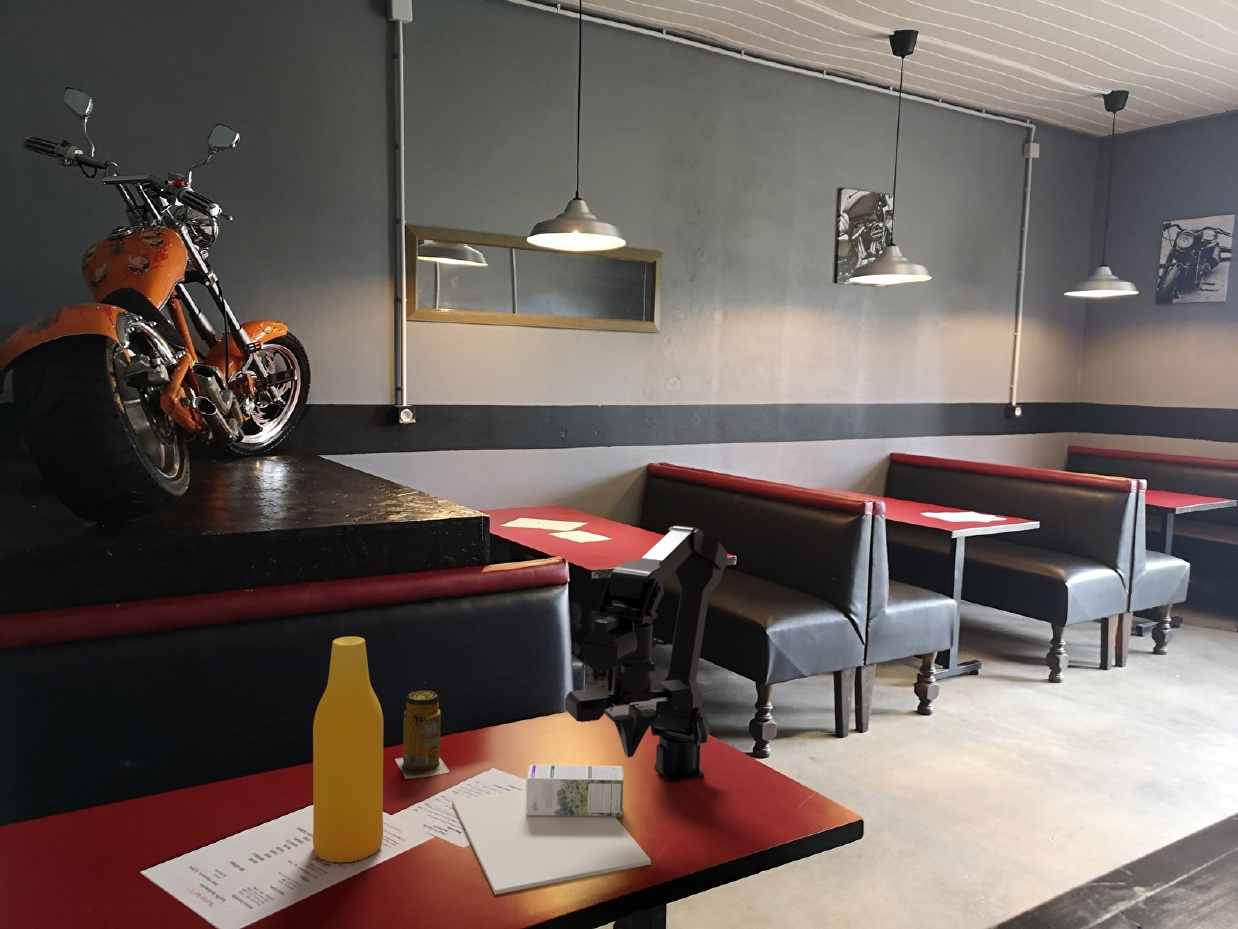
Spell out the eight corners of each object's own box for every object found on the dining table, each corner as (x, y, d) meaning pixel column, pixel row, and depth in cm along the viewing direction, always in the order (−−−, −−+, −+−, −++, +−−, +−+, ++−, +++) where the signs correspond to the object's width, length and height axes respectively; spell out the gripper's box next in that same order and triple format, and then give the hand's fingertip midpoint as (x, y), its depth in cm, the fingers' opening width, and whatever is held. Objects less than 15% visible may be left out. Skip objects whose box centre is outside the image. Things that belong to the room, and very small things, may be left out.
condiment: (437, 754, 154) (437, 686, 153) (450, 773, 146) (450, 702, 145) (394, 760, 151) (395, 691, 150) (405, 780, 143) (406, 708, 142)
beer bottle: (318, 871, 116) (318, 654, 113) (308, 838, 124) (307, 635, 122) (390, 856, 120) (391, 646, 118) (375, 825, 128) (376, 628, 126)
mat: (584, 783, 144) (584, 780, 144) (650, 864, 120) (650, 860, 120) (452, 803, 135) (452, 800, 135) (494, 894, 112) (494, 890, 111)
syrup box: (622, 764, 136) (528, 763, 136) (623, 780, 131) (525, 778, 130) (621, 801, 137) (527, 799, 136) (622, 818, 131) (524, 816, 130)
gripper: (665, 634, 141) (662, 729, 143) (554, 643, 134) (552, 743, 135) (698, 653, 131) (694, 756, 132) (579, 665, 124) (576, 773, 125)
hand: (629, 756), depth 132 cm, fingers closed
